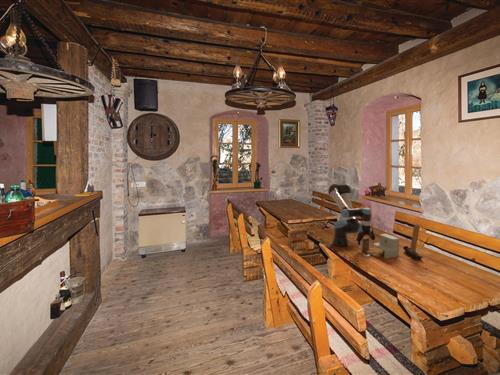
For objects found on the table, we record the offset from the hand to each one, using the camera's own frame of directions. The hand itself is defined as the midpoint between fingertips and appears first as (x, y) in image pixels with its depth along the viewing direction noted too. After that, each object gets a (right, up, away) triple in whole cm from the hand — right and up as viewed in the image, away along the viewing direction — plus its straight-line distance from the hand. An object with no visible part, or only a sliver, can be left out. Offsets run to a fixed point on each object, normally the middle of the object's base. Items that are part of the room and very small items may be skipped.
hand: (365, 247), depth 249 cm
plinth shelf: (+13, -4, -9) cm, 17 cm away
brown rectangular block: (+2, -4, -6) cm, 8 cm away
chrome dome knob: (-4, -5, -12) cm, 13 cm away
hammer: (+34, -4, -15) cm, 38 cm away
